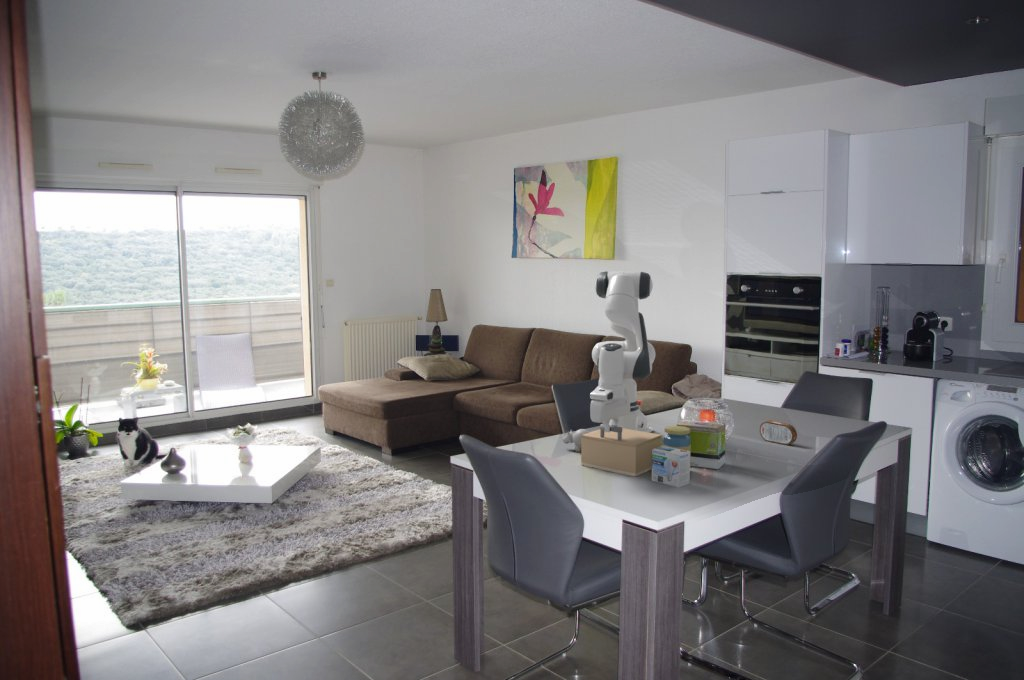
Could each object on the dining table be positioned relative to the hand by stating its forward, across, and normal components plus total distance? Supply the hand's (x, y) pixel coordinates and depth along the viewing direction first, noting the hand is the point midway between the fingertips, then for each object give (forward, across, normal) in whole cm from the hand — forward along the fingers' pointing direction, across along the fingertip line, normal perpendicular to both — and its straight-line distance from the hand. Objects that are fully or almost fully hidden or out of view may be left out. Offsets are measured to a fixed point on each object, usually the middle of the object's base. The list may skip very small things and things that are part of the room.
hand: (610, 430), depth 254 cm
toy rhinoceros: (+14, -14, -24) cm, 31 cm away
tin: (+14, -73, +31) cm, 81 cm away
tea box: (+14, -26, +21) cm, 36 cm away
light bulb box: (+14, 0, +23) cm, 27 cm away
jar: (+14, -12, +19) cm, 26 cm away
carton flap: (+3, -7, 0) cm, 8 cm away
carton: (+14, -7, 0) cm, 15 cm away
